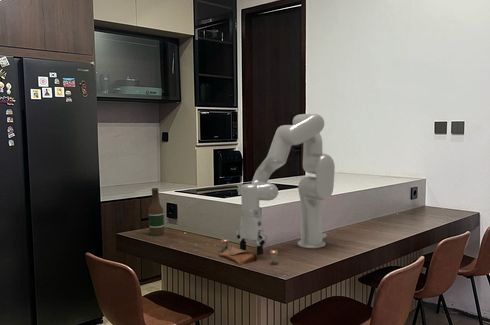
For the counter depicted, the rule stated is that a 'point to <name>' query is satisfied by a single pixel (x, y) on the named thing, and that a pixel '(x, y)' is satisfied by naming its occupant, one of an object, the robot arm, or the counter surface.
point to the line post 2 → (273, 257)
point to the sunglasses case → (238, 255)
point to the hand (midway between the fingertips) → (251, 252)
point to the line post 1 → (224, 244)
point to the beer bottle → (156, 215)
